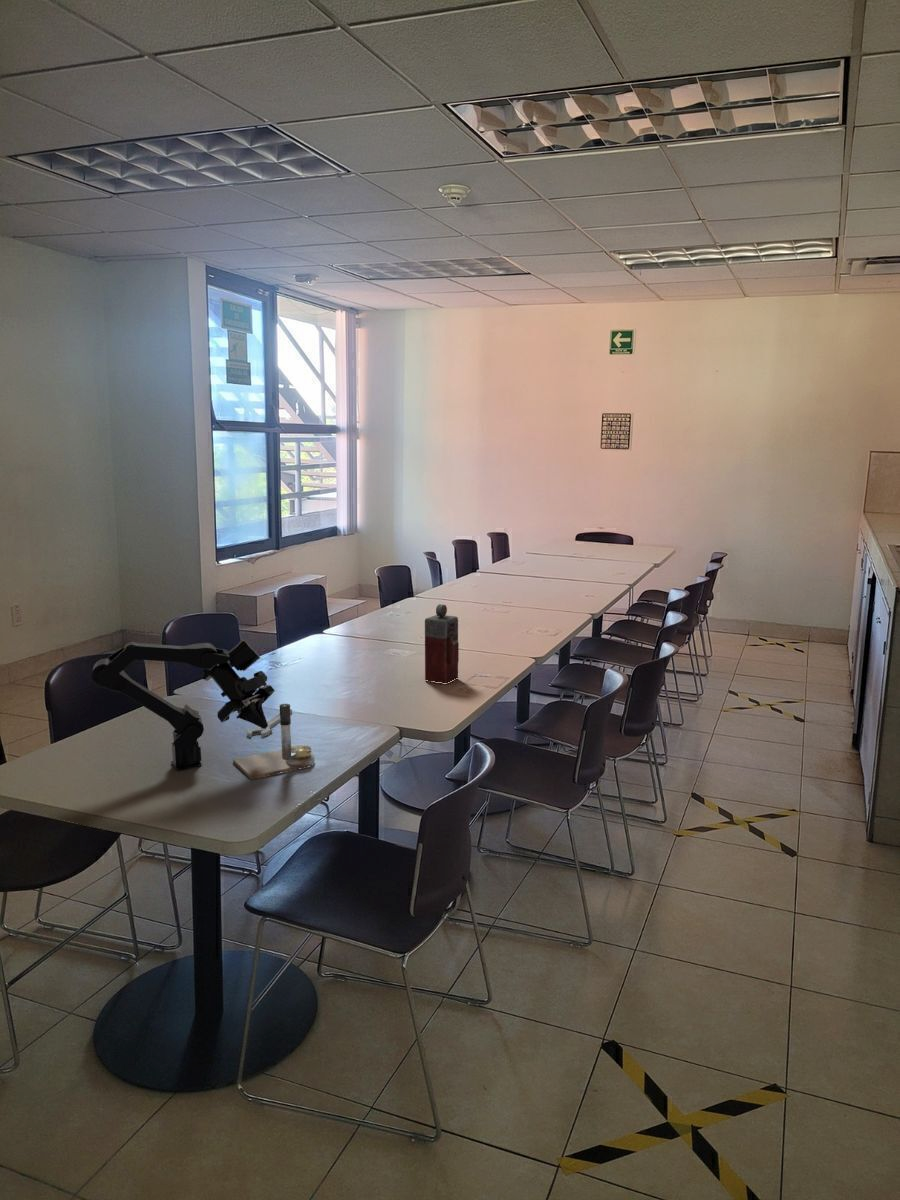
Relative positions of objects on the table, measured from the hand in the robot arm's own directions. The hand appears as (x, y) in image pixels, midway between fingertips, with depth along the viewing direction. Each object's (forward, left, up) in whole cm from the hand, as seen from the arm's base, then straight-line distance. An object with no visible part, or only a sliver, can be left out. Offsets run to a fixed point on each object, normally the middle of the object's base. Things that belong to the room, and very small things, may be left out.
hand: (266, 727), depth 224 cm
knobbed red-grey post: (+84, +45, -11) cm, 96 cm away
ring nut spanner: (+6, -4, -9) cm, 11 cm away
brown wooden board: (+2, +1, -11) cm, 11 cm away
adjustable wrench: (+14, +32, -12) cm, 37 cm away
